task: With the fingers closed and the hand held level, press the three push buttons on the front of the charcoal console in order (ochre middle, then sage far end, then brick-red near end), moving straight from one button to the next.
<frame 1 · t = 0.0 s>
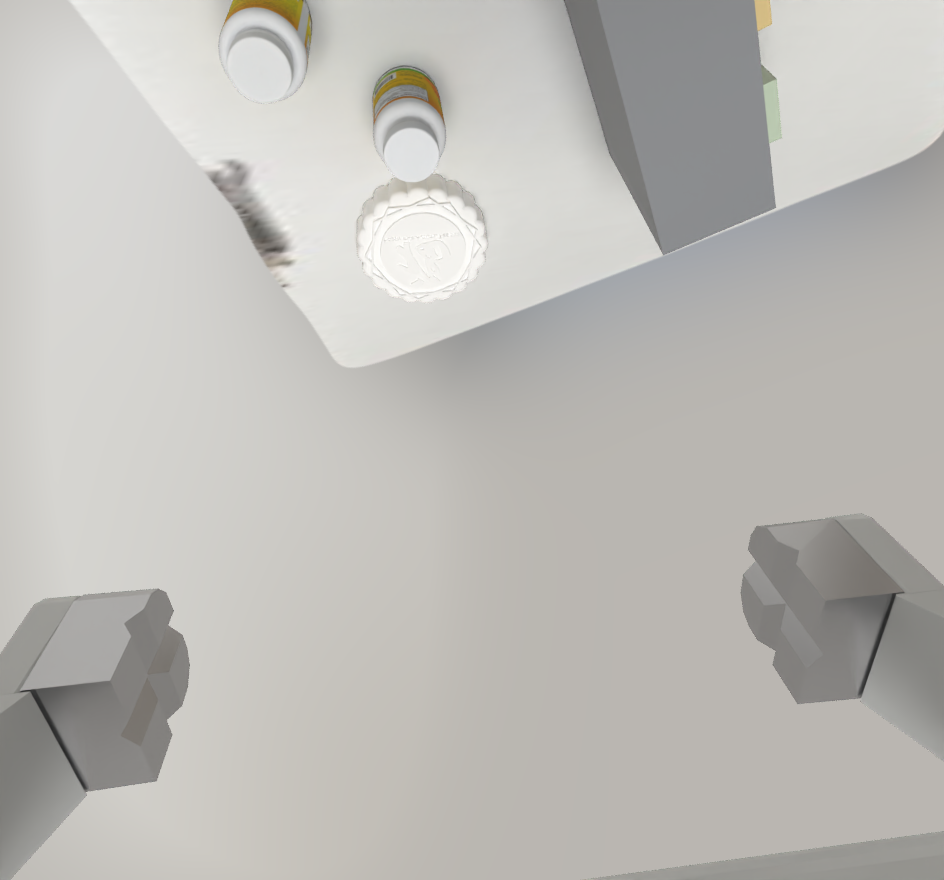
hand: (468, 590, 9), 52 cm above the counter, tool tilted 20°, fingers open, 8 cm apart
mooncake: (421, 231, 64), on the counter
supplement bottle 2: (405, 99, 54), on the counter
button sage: (745, 106, 48), point 9 cm above the counter, slide at 0.0 cm
supplement bottle: (273, 17, 49), on the counter
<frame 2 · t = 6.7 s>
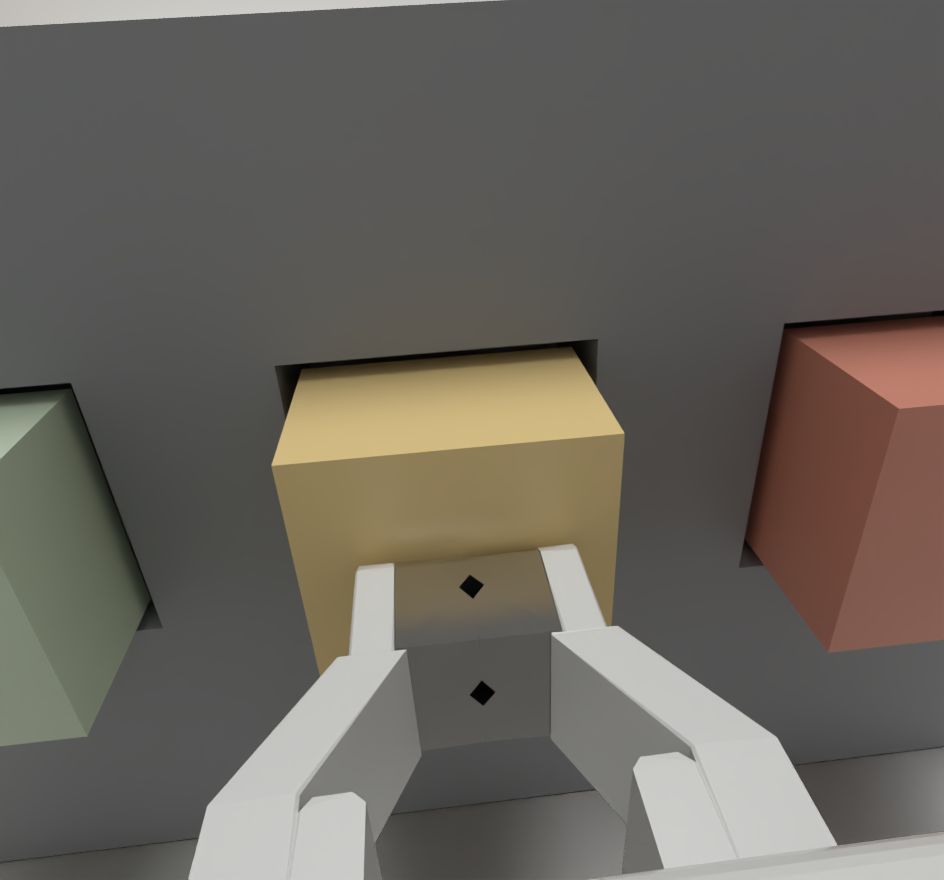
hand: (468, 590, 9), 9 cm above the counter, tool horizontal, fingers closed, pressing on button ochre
button brick: (933, 475, 11), point 9 cm above the counter, slide at 0.0 cm
button ochre: (453, 521, 11), point 9 cm above the counter, slide at 0.0 cm, touching gripper
console: (461, 671, 20), on the counter
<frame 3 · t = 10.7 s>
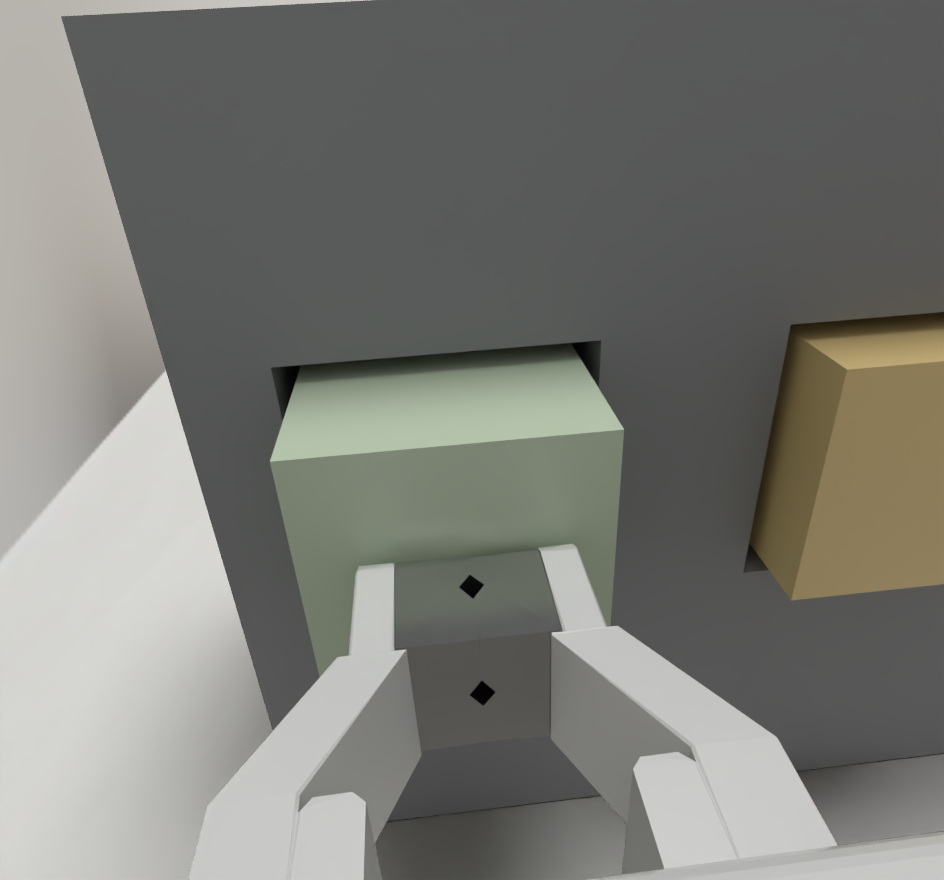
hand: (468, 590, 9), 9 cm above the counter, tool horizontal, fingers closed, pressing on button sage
button ochre: (889, 438, 12), point 9 cm above the counter, slide at 1.4 cm
button sage: (452, 518, 11), point 9 cm above the counter, slide at 0.2 cm, touching gripper
console: (732, 645, 20), on the counter
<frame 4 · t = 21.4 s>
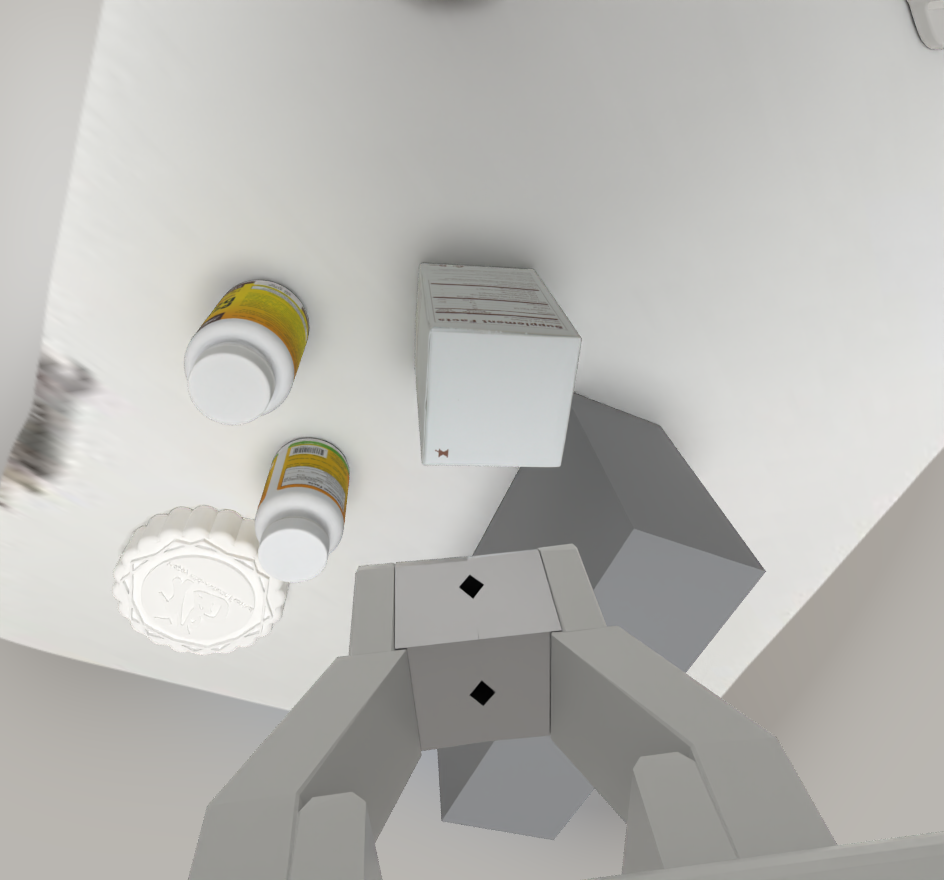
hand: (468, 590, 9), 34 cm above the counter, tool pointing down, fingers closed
mooncake: (210, 567, 51), on the counter
supplement box: (472, 318, 43), on the counter
supplement bottle 2: (311, 468, 48), on the counter
console: (536, 537, 52), on the counter
supplement bottle: (265, 320, 42), on the counter
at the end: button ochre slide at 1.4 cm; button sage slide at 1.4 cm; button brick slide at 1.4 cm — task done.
